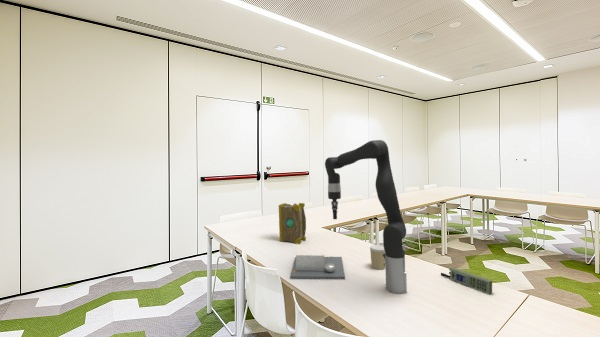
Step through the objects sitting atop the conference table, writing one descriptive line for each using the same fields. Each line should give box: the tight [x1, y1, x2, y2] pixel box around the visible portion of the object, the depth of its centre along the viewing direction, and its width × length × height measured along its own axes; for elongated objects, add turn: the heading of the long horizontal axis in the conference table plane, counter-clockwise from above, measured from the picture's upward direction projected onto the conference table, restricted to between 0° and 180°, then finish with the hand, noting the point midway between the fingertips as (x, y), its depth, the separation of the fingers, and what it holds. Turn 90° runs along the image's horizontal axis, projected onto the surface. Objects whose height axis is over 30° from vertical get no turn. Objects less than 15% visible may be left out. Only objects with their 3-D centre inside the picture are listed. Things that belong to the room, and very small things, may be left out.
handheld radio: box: [440, 266, 493, 295], centre depth 143 cm, size 7×3×25 cm
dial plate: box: [289, 256, 346, 280], centre depth 169 cm, size 30×30×2 cm
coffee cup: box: [369, 244, 386, 271], centre depth 168 cm, size 9×9×12 cm
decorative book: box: [278, 202, 307, 245], centre depth 224 cm, size 20×11×30 cm, turn 63°
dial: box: [295, 254, 335, 272], centre depth 161 cm, size 22×6×8 cm, turn 84°
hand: (335, 217), depth 169 cm, fingers open, 8 cm apart
